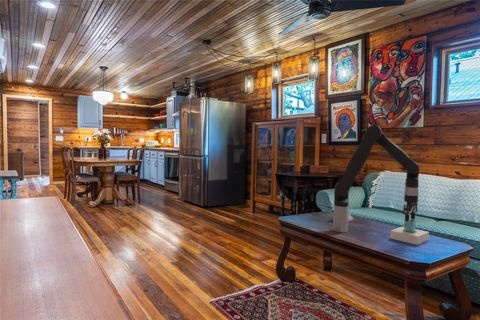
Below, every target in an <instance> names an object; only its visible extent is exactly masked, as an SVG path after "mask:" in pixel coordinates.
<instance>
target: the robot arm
mask: <svg viewBox="0 0 480 320" xmlns="http://www.w3.org/2000/svg"><path fill="white" fill-rule="evenodd" d="M375 144H377V145H379V146H380V147H381V148H382V149H383V150H384V151H385V152H386V153H388V155H389V156H391V157H392V158H393V159H394V160H395V161H396V162H397V163H398V164H400V166H401V167H402V168H403V169H404V170H405V171H406V176H405V177H406V178H405V183H404V184H405V187H404V196H403V200H404V202H406V204H405V203H404V204H403V210H402V211H403V213H402V214H403V215H404V221H409V219H411V220H415V219H416V213H417V212H418V202H419V174H420V165H419V163H418V162H415V161H414V160H413V159H412V158H410V157H409V155H408V154H407V153H406V152H405V151H404V150H402V149H401V148H400V147H399V146H397V144H395V143H394V142H392V141H391V140H390V139H389V138H388V137H387V136H386V135H385V134H384V132H382V128H381V126H379V125H377V124H371V125H369V126H368V127H367V128H366V131H365V132H364V135H363V137H362V140H361V141H360V143H359V145H358V146H357V148H356V149H355V151H354V152H353V153H352V156H351V157H350V159H349V161H348V162H347V164H346V165H347V166H346V168H345V170H344V173H343V175H342V177H341V178H340V180H339V181H338V182H336V184H335V185H334V194H333V195H334V197H333V217H332V231H333V232H336V233H341V234H342V233H347V232H349V221H348V209H349V203H350V202H349V200H350V199H349V196H350V195H349V193H350V190H351V188H352V185H353V183H354V181H355V179H356V178H357V176H358V175H359V173H360V172H361V171H362V169H363V168H364V166H365V164H366V162H367V160H368V158H369V156H370V153H371V149H372V148H373V145H375Z"/></svg>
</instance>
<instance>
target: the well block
mask: <svg viewBox="0 0 480 320" xmlns="http://www.w3.org/2000/svg"><path fill="white" fill-rule="evenodd" d="M429 234H430V232H429V231H426V230H421V229H416V228H415V233H410V232H405V231H404V226H399V227H397V228H393V229H391V230H390V239H391V240H395V241H400V242H405V243H408V244H413V245H417V246H419V245H421V244H423V243H425V242H427V241H429Z"/></svg>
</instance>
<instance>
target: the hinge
mask: <svg viewBox="0 0 480 320" xmlns="http://www.w3.org/2000/svg"><path fill="white" fill-rule="evenodd" d="M354 219H355V218H354V217H353V216H352V215H351V211H350V209H349V208H348V222H349V221H350V222H351V221H353V220H354Z"/></svg>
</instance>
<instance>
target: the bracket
mask: <svg viewBox="0 0 480 320" xmlns="http://www.w3.org/2000/svg"><path fill="white" fill-rule="evenodd" d="M403 223H404V225H403V227H404V231H405V232H410V233H415V229H416V225H417V224H416V223H417V221H416V220H415V219H411V218H409V221H405V220H404V222H403Z"/></svg>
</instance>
